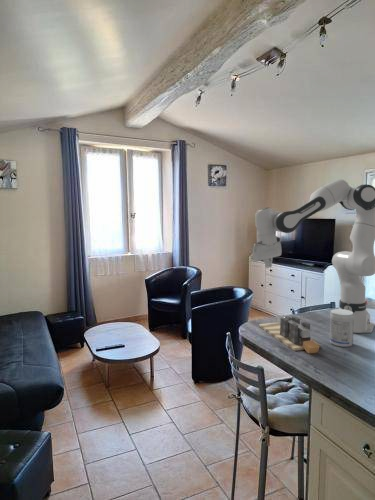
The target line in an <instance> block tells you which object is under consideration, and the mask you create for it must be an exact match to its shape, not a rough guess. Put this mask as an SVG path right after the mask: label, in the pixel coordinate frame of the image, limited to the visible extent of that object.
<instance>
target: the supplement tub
mask: <svg viewBox="0 0 375 500" xmlns="http://www.w3.org/2000/svg"><path fill="white" fill-rule="evenodd" d="M329 314H330V315H329V316H330V317H329V319H330V320H329V342H330V343H331V344H332V345H334V346H336V347H343V348H349V347H352V346H353V343H354V332H353V325H354V316H353V312H352V311H349V310H345V309H339V308H335V309H331V310H330V313H329Z"/></svg>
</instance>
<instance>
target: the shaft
mask: <svg viewBox="0 0 375 500" xmlns="http://www.w3.org/2000/svg"><path fill="white" fill-rule="evenodd" d="M283 317H284V318H286V319H288V329H289V330H290V323H295V324H297V325H298V335H299V336H300V337H302V338H308V337H310V338H311V328H310V329H308V328H306V327H304V326H302V325H301V323H300V324H299V323H297V322H295V321H293V320H292V317H290V316H288V315H277V316H276V322H277V323H279V324H280V318H283Z"/></svg>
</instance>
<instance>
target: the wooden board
mask: <svg viewBox="0 0 375 500" xmlns="http://www.w3.org/2000/svg"><path fill="white" fill-rule="evenodd" d="M291 318H292V320H293V321H295V322H297V323H299V324H300V325H302V326H304V327H306V328H308V329H310V330H311V323H309V322H307V321H305V320H304V321H303V320H302V321H301V318H299V317H297V316H295V315H293V316H291ZM300 321H301V323H300ZM258 327H259V328H261V329H262V330H263V329H264V330H263V331H265V332H266V331H267V332H266V333H268V334H269V335H270V336H272V337H273V338H274V339H276V340H278V341H280V343H282V344H283V345H285V346H287V347H288V348H289V349H291V350H292V351H303V350H305V349H304V348H303V347H302V346H303V341H310V340H312V339H311V336H310V337H308V338H302V337H300V336H299V335H298V325H297V324H295V323H290V330H289V329H288V319H286V318H284V317H283V318H280V324H279V323H277V321H276V322H269V323H259V324H258ZM313 341H314V342H315V343H316V344H317V345H318V346H319V349H320V348H321V344H320V343H318V342H317V341H315V340H313Z"/></svg>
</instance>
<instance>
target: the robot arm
mask: <svg viewBox="0 0 375 500" xmlns="http://www.w3.org/2000/svg"><path fill="white" fill-rule="evenodd" d="M338 203H339V204H340V205H341V206H342V208H344V209H346V210H349V211H355V212H356V216H355V217H356V218H355V220H354V224H353V226H352V229H351V231H350V234H349V240H350V242H351V243H352V251H347V250H344V251H338V252H336V253H334V254H333V256H332V259H331V264H332V266H333V268H334V269H335V270H336V272H337V275H338V279H339V285H340V299H339V303H338V305H339V306H338V309H345V310H349V311H352V312H353V316H354V325H353V334H354V333H355V334H357V333H359V334H362V333H368V334H370V333H371V334H372V333H373V331H374V329H375V322H372V321H371V314H370V313H369V311H368V310H367V304H368V301H367V300H366V285H364V283H363V282H362V280H361V278H360V277H370V276H374V275H375V252H374V249H375V247H374V245H375V187H374V186H373V185H372V184H371V185H370V184H360V185H357V186H353V187H351V186H350V185H349V182H347V181H346V180H344V179H341V178H340V179H339V178H338V179H336V180H333V181H331V182H328V183H326V184H324V185H322V186H321V187H319V188H317V189H316V190H315V191H313V192H312V193H311V194H310V196H309V200H308V201H307V202H306V203H304V204H303V205H301V206H299V207H298V208H296V209H295V210H290V211H289V210H288V211H283V212H281V211H278V210H275V209H272V208H271V207H264V208H262V209H258V210H257V211H256V212H255V216H254V220H255V221H254V222H255V223H254V224H255V228H256V242H254V244H253V247H252V261H254V262H261V261H263V263H264V264H265V267H264V268H266V269H268V268H272V267H273V266H272V265H273V264H272V263H273V262H274V261H273V258H277V257H280V256H282V251H283V250H282V243H281V241H282V239H281V238H282V237H279V236H276V234H275V232H280V233H285V234H289V233H293V232H295V231H296V230H297V228H298V227H299V226H300V225H301V223H303V221H305V220H307V219H308V218H310V217H311V216H313V215H315V214H317V213H319V212H322V211H325V210H328V209H330V208H332V207H333V206H335V205H337V204H338Z"/></svg>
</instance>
